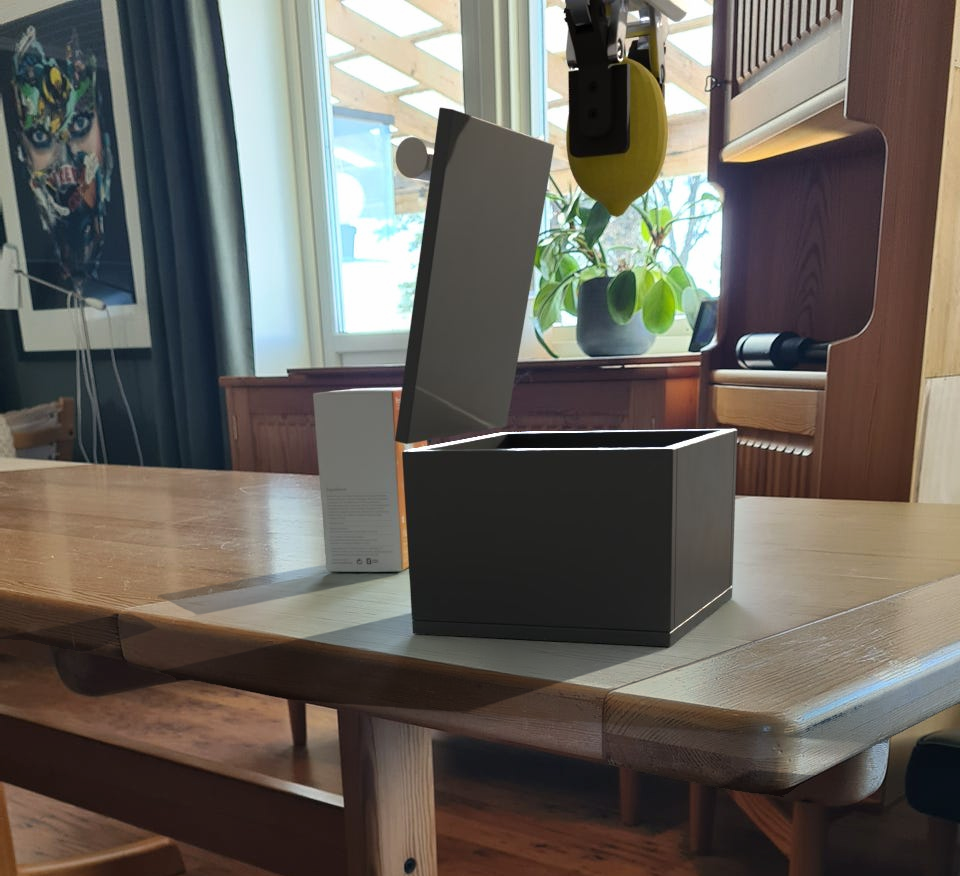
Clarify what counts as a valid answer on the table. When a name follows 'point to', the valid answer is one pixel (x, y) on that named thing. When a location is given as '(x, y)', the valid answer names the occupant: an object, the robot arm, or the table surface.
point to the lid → (470, 273)
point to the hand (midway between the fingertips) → (618, 157)
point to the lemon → (641, 165)
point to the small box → (362, 479)
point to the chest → (571, 534)
